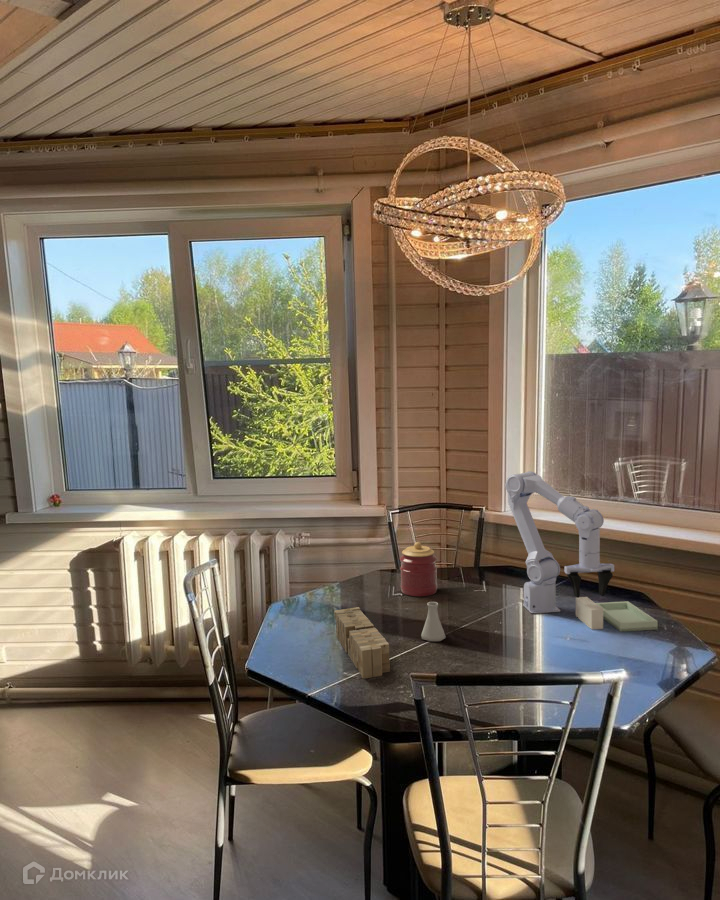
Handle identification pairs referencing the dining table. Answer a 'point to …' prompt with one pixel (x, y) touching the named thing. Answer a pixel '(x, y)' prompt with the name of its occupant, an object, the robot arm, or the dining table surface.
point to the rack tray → (627, 617)
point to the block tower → (362, 642)
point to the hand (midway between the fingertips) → (589, 595)
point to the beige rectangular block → (589, 613)
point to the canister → (418, 571)
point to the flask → (433, 625)
